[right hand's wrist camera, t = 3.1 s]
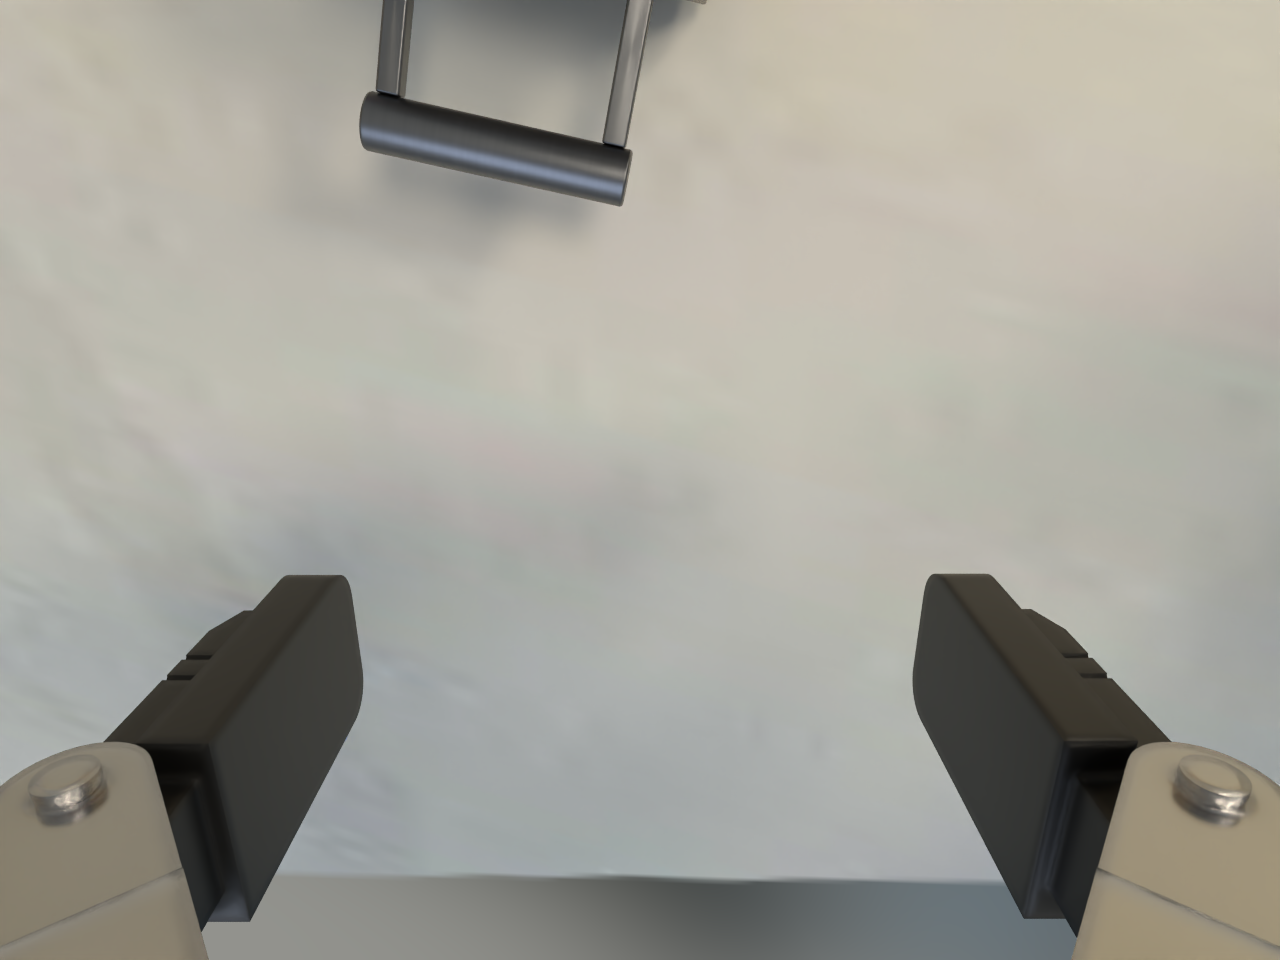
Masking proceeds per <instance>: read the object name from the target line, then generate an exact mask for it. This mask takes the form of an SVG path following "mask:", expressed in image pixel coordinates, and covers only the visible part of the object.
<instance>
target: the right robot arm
mask: <svg viewBox="0 0 1280 960" xmlns="http://www.w3.org/2000/svg"><path fill="white" fill-rule="evenodd" d="M362 694H363V670H362V663H361V656H360V649H359V642H358V635H357V628H356V621H355V614H354V607H353V600H352V594H351V589H350V585H349V583H348V581H347V579H346V578H345V577H344V576H342V575H287V576H285V577H283V578H282V579H281V580H280V581H279V582H278V583H277V584H276V586H275V587H274V588H273V589H272V590H271V591H270V592H269V593H268V594H267V596H266V597H265V598H264V599H263V600H262V601H261V602H260V603H259V605H258V606H257V607H256V608H255V609H254V610H253V611H242V612H241V613H239V614H237V615H236V616H234V617H232V618H231V619H229V620H227V621H225V622H224V623H222V624H220V625H219V626H217V627H215V628H213V629H212V630H210V631H209V632H208V633H207V634H206V635H205V636H204V637H203V638H202V639H201V640H200V641H199V642H198V643H197V644H196V645H195V646H194V647H193V649H192V650H191V651H190V652H189V653H188V654H187V655H186V660H181V661H180V662H179V663H178V664H177V665H176V666H175V667H174V668H173V670H172V671H171V672H170V673H169V674H168V675H167V680H162V681H161V682H160V683H159V684H158V685H157V686H156V687H155V688H154V689H153V691H152V692H151V693H150V694H149V695H148V696H147V697H146V698H145V699H144V700H143V701H142V702H141V703H140V704H139V705H138V706H137V707H136V708H135V709H134V711H133V712H132V713H131V714H130V715H129V716H128V717H127V718H126V719H125V720H124V721H123V722H122V723H121V724H120V725H119V726H118V727H117V728H116V729H115V730H114V732H113V733H112V734H111V735H110V736H109V737H108V738H107V739H106V740H105V741H104V742H102V743H94V744H89V745H84V746H79V747H76V748H72V749H69V750H66V751H63V752H60V753H57V754H55V755H52V756H50V757H47V758H45V759H43V760H41V761H39V762H37V763H35V764H33V765H31V766H29V767H28V768H26V769H24V770H22V771H21V772H19V773H18V774H16V775H15V776H13V777H12V778H10V779H9V780H8V781H7V782H5V783H4V784H3V785H2V786H0V960H209V958H208V955H207V951H206V948H205V944H204V941H203V937H202V934H201V932H202V930H203V928H204V927H205V925H206V923H207V922H250V920H251V918H252V917H253V915H254V913H255V911H256V909H257V907H258V905H259V903H260V901H261V899H262V897H263V896H264V894H265V892H266V890H267V888H268V886H269V884H270V882H271V880H272V878H273V877H274V875H275V873H276V871H277V869H278V867H279V865H280V863H281V861H282V859H283V858H284V856H285V854H286V852H287V850H288V848H289V846H290V844H291V842H292V840H293V838H294V837H295V835H296V833H297V831H298V829H299V827H300V825H301V823H302V821H303V819H304V817H305V816H306V814H307V812H308V810H309V808H310V806H311V804H312V802H313V800H314V798H315V797H316V795H317V793H318V791H319V789H320V787H321V785H322V783H323V781H324V779H325V777H326V776H327V774H328V772H329V770H330V768H331V766H332V764H333V762H334V760H335V758H336V757H337V755H338V753H339V751H340V749H341V747H342V745H343V743H344V741H345V739H346V737H347V736H348V734H349V732H350V730H351V728H352V726H353V724H354V722H355V720H356V718H357V716H358V713H359V709H360V706H361V701H362ZM913 694H914V700H915V705H916V709H917V712H918V715H919V717H920V719H921V721H922V723H923V725H924V727H925V729H926V731H927V733H928V735H929V737H930V739H931V740H932V742H933V744H934V746H935V748H936V750H937V752H938V754H939V756H940V758H941V760H942V762H943V764H944V766H945V767H946V769H947V771H948V773H949V775H950V777H951V779H952V781H953V783H954V785H955V787H956V789H957V791H958V793H959V794H960V796H961V798H962V800H963V802H964V804H965V806H966V808H967V810H968V812H969V814H970V816H971V818H972V820H973V821H974V823H975V825H976V827H977V829H978V831H979V833H980V835H981V837H982V839H983V841H984V843H985V845H986V847H987V849H988V850H989V852H990V854H991V856H992V858H993V860H994V862H995V864H996V866H997V868H998V870H999V872H1000V874H1001V876H1002V877H1003V879H1004V881H1005V883H1006V885H1007V887H1008V889H1009V891H1010V893H1011V895H1012V897H1013V899H1014V901H1015V903H1016V904H1017V906H1018V908H1019V910H1020V912H1021V914H1022V916H1023V918H1024V919H1066V920H1067V922H1068V923H1069V925H1070V927H1071V929H1072V930H1073V932H1074V934H1075V936H1076V937H1077V941H1076V944H1075V948H1074V951H1073V955H1072V959H1071V960H1280V786H1278V785H1277V784H1276V783H1275V782H1273V781H1272V780H1271V779H1270V778H1268V777H1267V776H1265V775H1264V774H1262V773H1261V772H1259V771H1258V770H1256V769H1254V768H1252V767H1251V766H1249V765H1247V764H1245V763H1243V762H1241V761H1239V760H1237V759H1235V758H1233V757H1230V756H1228V755H1225V754H1223V753H1220V752H1217V751H1214V750H1211V749H1208V748H1204V747H1201V746H1196V745H1191V744H1186V743H1178V742H1171V741H1170V740H1169V739H1168V738H1167V737H1166V735H1165V734H1164V733H1163V732H1162V731H1161V730H1160V729H1159V728H1158V727H1157V726H1156V725H1155V724H1154V723H1153V722H1152V721H1151V720H1150V719H1149V717H1148V716H1147V715H1146V714H1145V713H1144V712H1143V711H1142V710H1141V709H1140V708H1139V707H1138V706H1137V705H1136V704H1135V703H1134V702H1133V701H1132V699H1131V698H1130V697H1129V696H1128V695H1127V694H1126V693H1125V692H1124V691H1123V690H1122V689H1121V688H1120V687H1119V686H1118V685H1117V684H1116V682H1115V681H1114V680H1113V679H1112V678H1107V673H1106V672H1105V671H1104V670H1103V669H1102V668H1101V667H1100V666H1099V664H1098V663H1097V662H1096V661H1095V660H1094V659H1093V658H1088V653H1087V652H1086V651H1085V650H1084V649H1083V647H1082V646H1081V645H1080V644H1079V643H1078V642H1077V641H1076V640H1075V639H1074V638H1073V637H1072V636H1071V635H1070V634H1069V633H1068V632H1067V631H1066V629H1064V628H1062V627H1060V626H1059V625H1057V624H1055V623H1054V622H1052V621H1050V620H1049V619H1047V618H1045V617H1043V616H1042V615H1040V614H1038V613H1037V612H1035V611H1033V610H1032V609H1021V608H1020V607H1019V606H1018V604H1017V603H1016V602H1015V601H1014V600H1013V599H1012V598H1011V597H1010V595H1009V594H1008V593H1007V592H1006V591H1005V590H1004V589H1003V588H1002V586H1001V585H1000V584H999V583H998V582H997V581H996V580H995V579H994V578H993V577H992V576H991V575H989V574H932V575H931V576H930V577H929V579H928V581H927V583H926V586H925V590H924V596H923V604H922V611H921V618H920V625H919V632H918V639H917V646H916V653H915V660H914V667H913Z"/></svg>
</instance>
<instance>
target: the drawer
mask: <svg viewBox="0 0 1280 960" xmlns="http://www.w3.org/2000/svg"><path fill="white" fill-rule="evenodd" d="M653 1H654V0H627V5H626V10H625V16H624V22H623V27H622V33H621V39H620V44H619V50H618V55H617V61H616V67H615V72H614V78H613V83H612V89H611V95H610V100H609V106H608V112H607V117H606V123H605V128H604V134H603V140H602V141H603V143H604V144H603V143H598V142H594V141H590V140H585V139H581V138H576V137H572V136H567V135H563V134H559V133H554V132H550V131H545V130H541V129H537V128H532V127H528V126H523V125H519V124H515V123H510V122H506V121H501V120H497V119H492V118H488V117H484V116H479V115H475V114H470V113H466V112H462V111H457V110H453V109H448V108H444V107H440V106H435V105H431V104H426V103H422V102H418V101H413V100H409V99H404V97H405V91H406V81H407V70H408V60H409V49H410V39H411V28H412V17H413V7H414V0H383V6H382V18H381V31H380V43H379V55H378V67H377V79H376V91H377V92H373V91H372V92H368V93H367V94H366V96H365V98H364V101H363V104H362V107H361V112H360V122H359V130H360V138H361V143H362V145H363V147H364V148H365V149H366V150H367V151H372V152H376V153H381V154H385V155H390V156H394V157H399V158H403V159H408V160H412V161H417V162H421V163H426V164H430V165H435V166H439V167H444V168H448V169H453V170H457V171H462V172H466V173H471V174H475V175H480V176H484V177H489V178H493V179H498V180H502V181H507V182H512V183H516V184H521V185H525V186H530V187H534V188H539V189H543V190H548V191H552V192H557V193H561V194H566V195H570V196H575V197H579V198H584V199H588V200H593V201H597V202H602V203H606V204H611V205H615V206H622V205H623V202H624V197H625V192H626V187H627V182H628V177H629V172H630V166H631V160H632V154H633V153H632V151H631V150H629V149H625V147H626V144H627V139H628V134H629V128H630V123H631V118H632V113H633V107H634V102H635V97H636V91H637V86H638V81H639V75H640V70H641V65H642V59H643V54H644V49H645V43H646V38H647V33H648V27H649V22H650V17H651V12H652V6H653ZM688 1H692V2H696V3H700V4H705V3H706V2H707V0H688ZM378 92H379V93H378Z"/></svg>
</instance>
